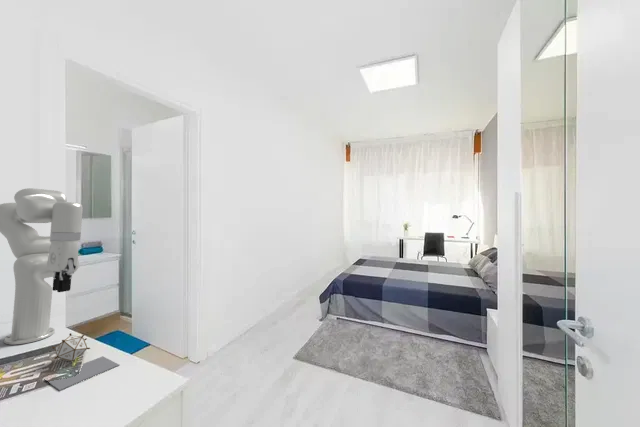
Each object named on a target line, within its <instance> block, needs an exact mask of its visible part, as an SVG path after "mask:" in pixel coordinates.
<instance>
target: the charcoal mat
mask: <svg viewBox="0 0 640 427" xmlns="http://www.w3.org/2000/svg"><path fill="white" fill-rule="evenodd" d="M82 364H83V366H82V368H81V371H80V374H77V375H76V376H75V377H74V376H73V377H72V378H67V379H61V380H60V379H59V380H54V381H50V382H49V383H50V384H49V383H48V384H49V385H50V386H52V387H53V388H55V389H56V390H58V391H59V392H61V391H63V390H66V389H68V388H70V387H73V386H75V385H77V384H80V383H82V382H84V381H87V380H88V378H89V379H91V378H94V377H96V376H98V374H99V375H101V374H103V373H105V371H106V372H108V371H110V370H112V368H113V369H114V367H115V368H118V367H119V366H120V364H119V363H117V362H115V361H113V360H111V359H109V358H107V357H106V356H100V357H97V358H95V359H92V360H89V361H87V362H85V363H84V362H83V363H82ZM107 370H108V371H107ZM100 373H101V374H100ZM95 375H96V376H95ZM93 376H94V377H93ZM90 377H91V378H90ZM86 379H87V380H86ZM83 380H84V381H83ZM81 381H82V382H81ZM79 382H80V383H79ZM76 383H77V384H76ZM74 384H75V385H74ZM72 385H73V386H72Z"/></svg>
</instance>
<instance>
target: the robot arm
mask: <svg viewBox="0 0 640 427" xmlns="http://www.w3.org/2000/svg"><path fill="white" fill-rule="evenodd" d="M13 199H14V202H6V203H5V202H4V203H0V234H1V235H2V236H4V238H6V240H7V243H8V245H9V247H10V250H11V252H12V254H13V256H14V257H15V258H16V259H15V261H14V263H13V267H12V268H13V274H14V283H15V285H14V288H15V290H14V300H13V301H14V302H13V310H12V311H13V314H12V325H11V334H9V335H8V336H6V337H4V341H3V342H4V344H5V345H10V346H11V345H22V344H29V343H33V342H37V341H41V340H44V339H46V338H49V337H51V336H52V335H54V334H55V328H53V327H50V323H51V322H50V321H51V311H52V300H53V299H52V298H53V292H54V291H55V292H57V293H63V292H69V291H71V287H72V286H71V283H72V278H73V275H74V274H75V273H76V272H77V271H78V269H79V266H80V263H79V262H80V261H79V243H80V242H81V238H82V237H81V236H82V222H83V211H84V208H83V205H82V204H81V203H80V202H79V203H78V202H72V201H71V202H67V196H66V195H65V193H63V192H62V191H60V190H59V191H58V190H52V189H45V188H44V189H43V188H34V187H33V188H21V189H20V190H18V191H17V192H16V193H15V194H14V196H13ZM28 224H50V233H49V234H50V235H48V236H47V235H46V236H43V235H41V236H40V234H39V233H38V231H37V229H35V228H33V227H32V226H30V225H28ZM47 278H53V280H52V285H50V284H49V282H47V281H45V279H47Z"/></svg>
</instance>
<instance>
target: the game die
mask: <svg viewBox="0 0 640 427" xmlns="http://www.w3.org/2000/svg"><path fill="white" fill-rule="evenodd" d="M84 337H85V334H83V335H81V336H80V335H79V336H78V335H73V334H72V333H69V336H68V337H67V338H66V339H61V342H60V343H59V344H58V345H56V346H51V349H54V350H55V355H56V356H54V358H53V359H54V360H57V359H58V360H61V361H68V362H72V361H75V360H76V359H77V358H78V357H80V356H81V355H80V354H83V353H84V352H85V351H87V350H90V349H91V348H90V347H88V346H87V343H86V340H87V339H88V338H84ZM79 355H80V356H79Z"/></svg>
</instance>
